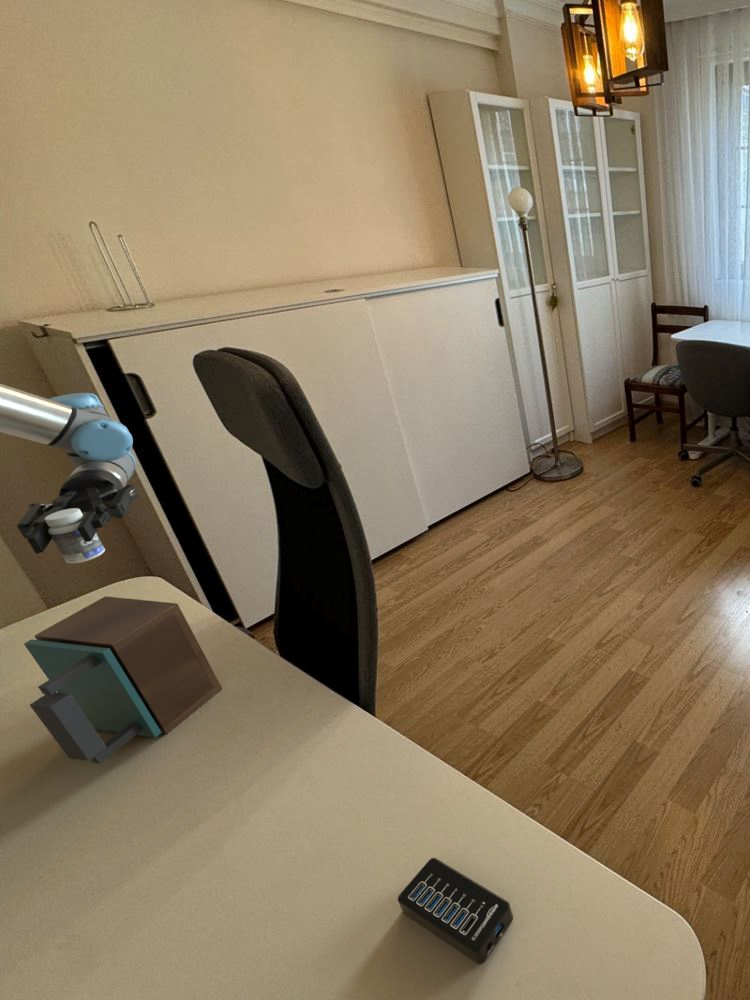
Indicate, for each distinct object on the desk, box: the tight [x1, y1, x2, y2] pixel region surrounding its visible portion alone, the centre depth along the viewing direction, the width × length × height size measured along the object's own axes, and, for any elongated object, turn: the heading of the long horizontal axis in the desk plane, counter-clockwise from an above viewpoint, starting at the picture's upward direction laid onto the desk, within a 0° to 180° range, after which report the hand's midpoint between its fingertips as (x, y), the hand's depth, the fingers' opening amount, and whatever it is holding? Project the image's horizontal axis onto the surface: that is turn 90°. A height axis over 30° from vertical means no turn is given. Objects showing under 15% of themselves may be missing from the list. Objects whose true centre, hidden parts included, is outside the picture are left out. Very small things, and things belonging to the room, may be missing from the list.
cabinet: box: [33, 595, 223, 735], centre depth 77 cm, size 12×8×16 cm, turn 82°
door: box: [23, 639, 162, 764], centre depth 70 cm, size 12×7×15 cm, turn 82°
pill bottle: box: [45, 508, 106, 565], centre depth 93 cm, size 5×5×8 cm
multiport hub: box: [397, 857, 514, 965], centre depth 55 cm, size 4×11×2 cm, turn 66°
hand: (60, 539), depth 88 cm, fingers closed on pill bottle, 5 cm apart
